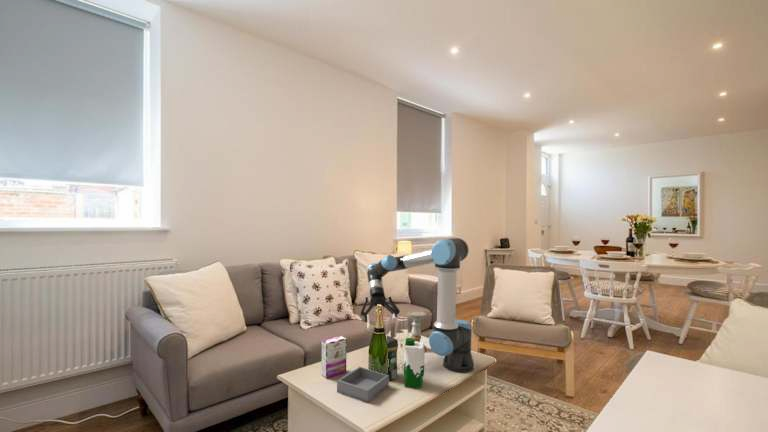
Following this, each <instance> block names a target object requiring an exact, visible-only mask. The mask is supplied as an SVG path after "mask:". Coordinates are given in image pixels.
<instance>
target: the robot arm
mask: <svg viewBox="0 0 768 432" xmlns="http://www.w3.org/2000/svg"><path fill="white" fill-rule="evenodd" d="M468 255H469V246H468V244H467V242H466V241H465V240H464V239H462V238H459V237H454V238H453V237H452V238H443V239H439V240H437V241H436V242H434V244H433V245H432V247H431V248H429V249H425V250H420V251H416V252H413V253H410V254H409V253H408V254H405V255H400V256H395V255H394V256H393V255H392V254H387V255H386V256H384V257H383V258H382V259H381V260H380V261H378V262H377V263H376V262H375V263H371V264H368V266H367V267H366V274H367V281H368V288H369V296H370V297H369V298H368V296H367V297H365V299H364V303H363V306H362V309H361V311H360V313H359V315H360V316H361V317H363V319H364V322H365V323H366V328H367V330H370V327H371V324H370V316H369V313H370V311H372V310H373V308H374V307H376V306H377V304H381V305H382V307H383V308H385V309H386V310H387V311H388V312H390V314H391V315H392V316H391V318H392V319H393V318H395V317H397V318H398V315H399V314H400V308H399V307H398V306H397V305H396V303H395V302H394V301H393V299H392V297H391V296H389V297H386V296H385V289H384V282H383V277H385V276H386V275H387V274H388V273H390V272H396V271H397V272H398V271H401V270H402V271H403V270H404V271H405V270H407V269H410V268H417V267H420V266H426V265H430V264H434V268H435V269H436V270H437V301H436V304H437V305H436V309H437V310H436V321H435V322H434V323H433V331H432V332H431V334H430V335H429V337H428V344H429V347H430V349H431V350H432V351H433V353H435V354H436V355H437V356H440V357H443V364H442V365H443V367H444V368H445V369H446V370H449V371H451V372H455V373H471V372H472V371H474V369H475V361H474V358H473V355H472V352H471V351H472V331H473V329H472V323H471V321H467V320H464V319H458V318H456V312H457V311H456V310H457V309H456V307H457V303H456V301H457V272H458V270H460V268H461V262H462V261H464V260H465V259H466V258H468ZM369 302H370V304H369ZM368 304H369V306H368V308H367V305H368ZM366 308H367V309H366Z"/></svg>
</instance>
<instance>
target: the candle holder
mask: <svg viewBox="0 0 768 432" xmlns="http://www.w3.org/2000/svg"><path fill="white" fill-rule="evenodd" d="M406 315H407V316H408V317H409V318H412V322H411V325H412V328H411V335H410V338H413V339H414V341H415V342H421V339H422V336H421V334H422V331H421V327H420V326H421V325H422V324H421V322H420V320H421V319H423V318H425V317H427V313H425V312H423V311H420V310H419V311H417V310H412V311H408V312H407V314H406ZM427 349H428V348H427V346H426V345H425V344H424V351H425V352H427Z"/></svg>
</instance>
